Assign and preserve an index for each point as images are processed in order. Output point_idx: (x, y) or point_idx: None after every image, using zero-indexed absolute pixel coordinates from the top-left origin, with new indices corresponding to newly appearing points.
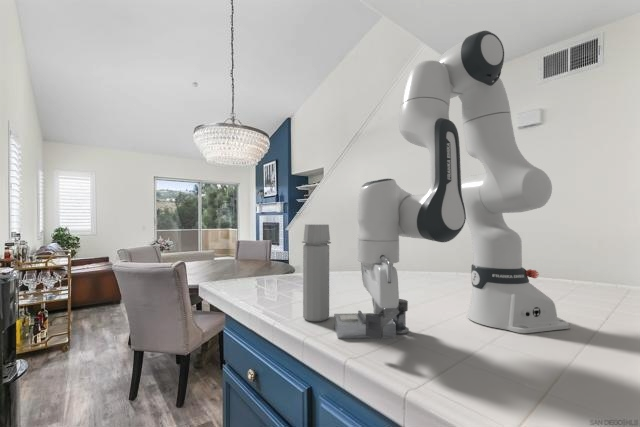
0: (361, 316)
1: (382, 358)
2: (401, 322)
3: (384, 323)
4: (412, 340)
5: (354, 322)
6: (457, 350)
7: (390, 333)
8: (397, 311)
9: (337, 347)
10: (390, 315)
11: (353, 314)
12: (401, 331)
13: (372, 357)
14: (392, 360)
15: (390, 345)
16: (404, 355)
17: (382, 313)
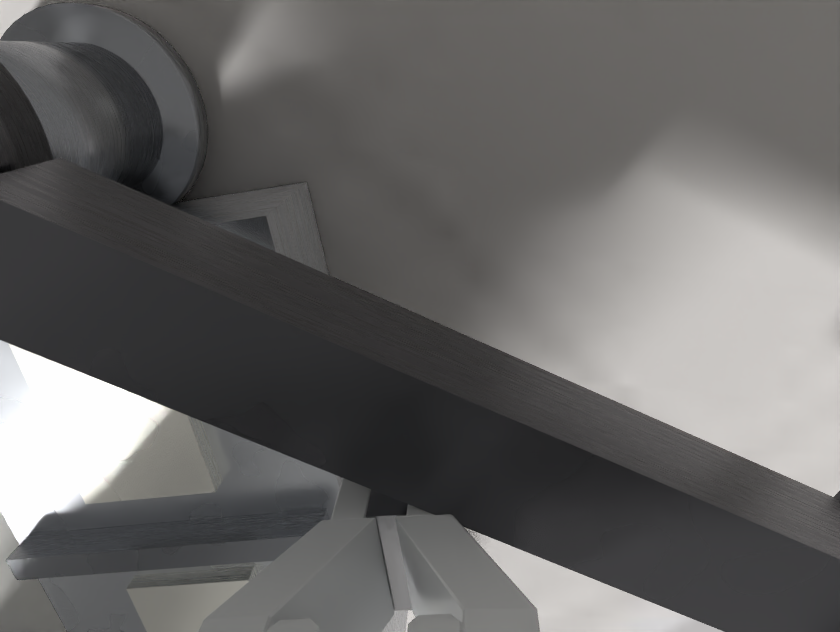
0: (203, 564)
1: (766, 353)
2: (108, 112)
3: (769, 484)
4: (352, 10)
5: None
6: None
7: (309, 245)
8: (195, 238)
9: (561, 609)
10: (545, 405)
11: (77, 590)
12: (185, 108)
13: (740, 419)
14: (812, 283)
15: (504, 258)
16: (724, 166)
17: (626, 547)
